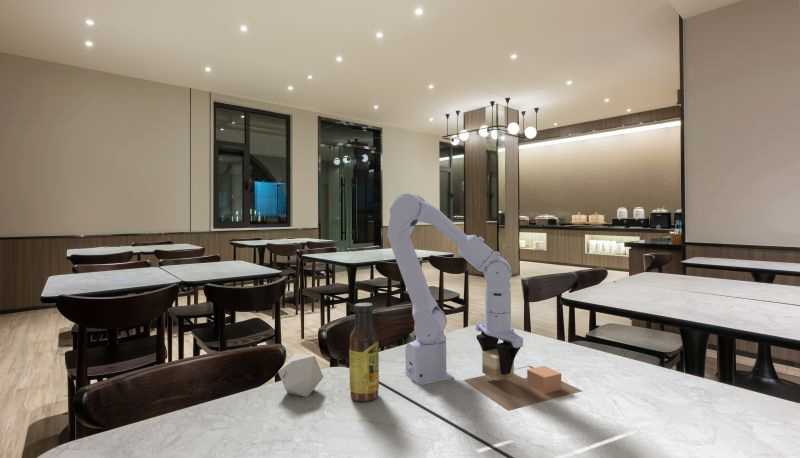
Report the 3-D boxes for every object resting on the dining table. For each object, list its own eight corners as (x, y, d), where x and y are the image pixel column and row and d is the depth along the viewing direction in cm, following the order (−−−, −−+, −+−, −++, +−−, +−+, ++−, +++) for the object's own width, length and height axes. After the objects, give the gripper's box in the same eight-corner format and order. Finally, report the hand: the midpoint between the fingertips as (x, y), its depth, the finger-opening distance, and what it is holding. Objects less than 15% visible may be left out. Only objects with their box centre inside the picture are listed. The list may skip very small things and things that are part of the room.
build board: (508, 412, 78) (508, 409, 78) (462, 381, 92) (462, 379, 92) (582, 392, 86) (582, 390, 86) (529, 367, 101) (529, 365, 101)
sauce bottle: (374, 404, 82) (373, 308, 81) (345, 402, 83) (344, 307, 82) (382, 390, 88) (381, 301, 88) (355, 388, 90) (353, 300, 89)
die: (285, 387, 92) (266, 362, 87) (318, 362, 96) (302, 337, 90) (299, 413, 86) (280, 388, 80) (334, 386, 89) (318, 360, 84)
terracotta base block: (543, 393, 85) (543, 377, 85) (527, 384, 89) (527, 369, 89) (561, 389, 87) (561, 373, 87) (544, 380, 91) (544, 365, 91)
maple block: (495, 380, 88) (495, 358, 88) (482, 372, 93) (482, 351, 93) (513, 376, 90) (513, 354, 90) (499, 368, 95) (499, 348, 95)
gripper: (534, 315, 86) (533, 377, 87) (492, 302, 99) (492, 356, 100) (508, 319, 83) (507, 383, 84) (468, 305, 96) (468, 360, 97)
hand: (497, 369), depth 92 cm, fingers closed on maple block, 5 cm apart
